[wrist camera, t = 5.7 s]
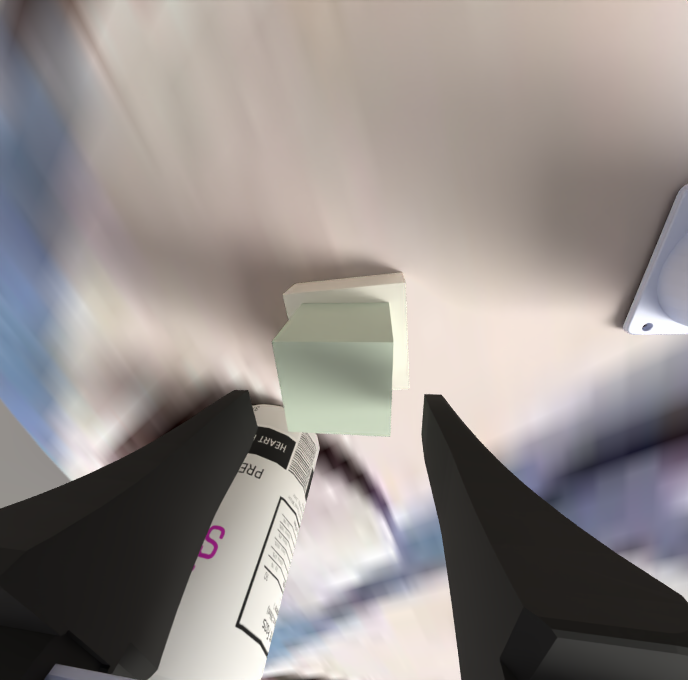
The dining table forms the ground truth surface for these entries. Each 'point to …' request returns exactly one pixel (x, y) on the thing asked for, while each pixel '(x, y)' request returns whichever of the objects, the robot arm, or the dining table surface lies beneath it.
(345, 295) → the cream box
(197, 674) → the supplement can
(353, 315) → the green cube
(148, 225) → the dining table surface
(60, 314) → the dining table surface
